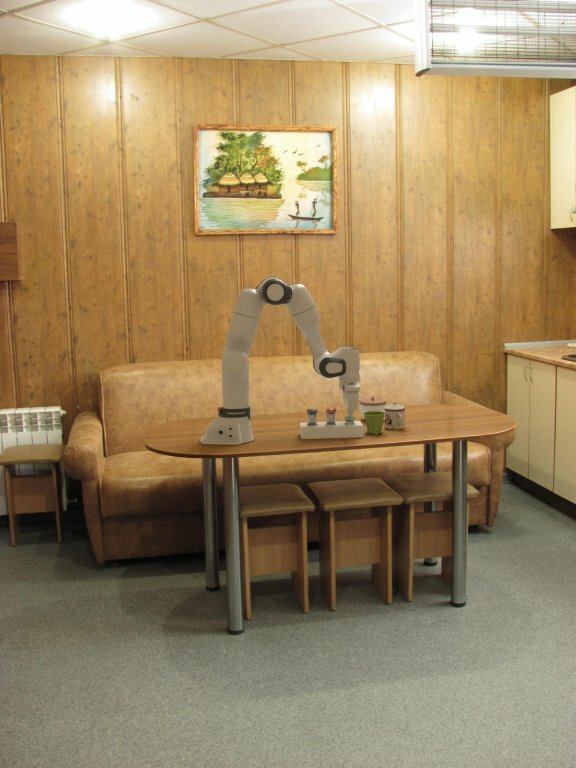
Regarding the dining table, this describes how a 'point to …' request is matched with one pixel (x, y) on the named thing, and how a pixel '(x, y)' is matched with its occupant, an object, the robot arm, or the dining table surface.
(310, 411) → the plug
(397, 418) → the printed white mug
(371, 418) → the plant pot
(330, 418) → the brick-red plug
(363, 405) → the lidded bowl
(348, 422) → the plug
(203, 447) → the dining table surface
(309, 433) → the block
